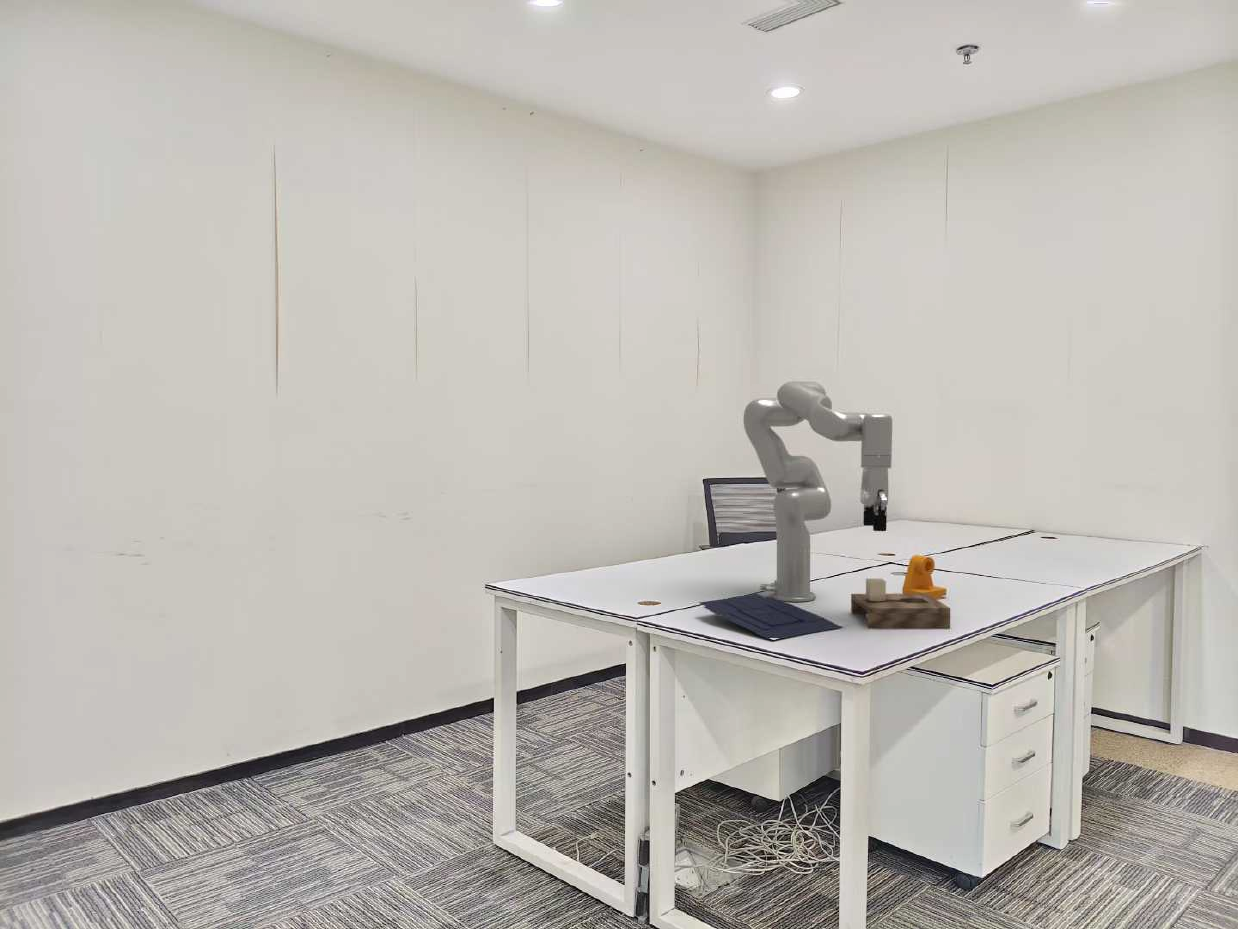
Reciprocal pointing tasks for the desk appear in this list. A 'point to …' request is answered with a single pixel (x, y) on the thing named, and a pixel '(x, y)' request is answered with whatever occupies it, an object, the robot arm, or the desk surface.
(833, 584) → the desk surface
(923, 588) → the bracket
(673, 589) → the desk surface
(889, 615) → the keyhole board
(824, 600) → the desk surface
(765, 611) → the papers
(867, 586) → the peg
